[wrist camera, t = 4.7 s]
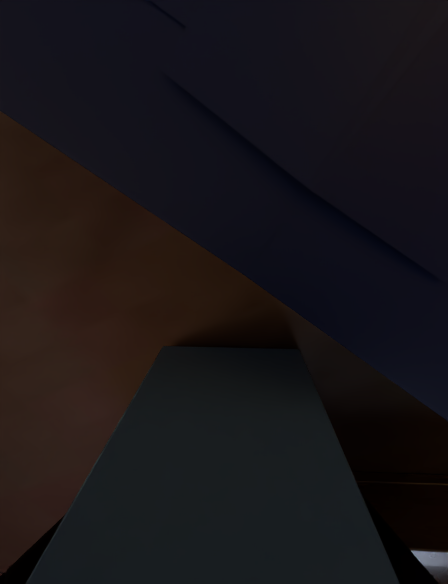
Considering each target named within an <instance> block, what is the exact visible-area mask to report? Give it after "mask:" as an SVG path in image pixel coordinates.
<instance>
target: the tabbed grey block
mask: <svg viewBox="0 0 448 584" xmlns="http://www.w3.org/2000/svg"><path fill="white" fill-rule="evenodd" d="M26 584H400V583H399V581H398V578H397V576H396V574H395V571H394V569H393V567H392V564H391V562H390V560H389V557H388V555H387V553H386V550H385V548H384V546H383V543H382V541H381V539H380V536H379V534H378V532H377V529H376V527H375V525H374V522H373V520H372V518H371V515H370V513H369V511H368V508H367V506H366V504H365V501H364V499H363V497H362V494H361V492H360V490H359V487H358V485H357V483H356V480H355V478H354V476H353V473H352V471H351V469H350V466H349V464H348V462H347V459H346V457H345V455H344V452H343V450H342V448H341V445H340V443H339V441H338V438H337V436H336V433H335V431H334V429H333V426H332V424H331V422H330V419H329V417H328V415H327V412H326V410H325V408H324V405H323V403H322V401H321V398H320V396H319V394H318V391H317V389H316V387H315V384H314V382H313V380H312V377H311V375H310V373H309V370H308V368H307V366H306V363H305V361H304V359H303V356H302V354H301V352H300V350H299V349H273V348H228V347H183V346H163V347H162V349H161V350H160V352H159V354H158V356H157V357H156V359H155V361H154V362H153V364H152V366H151V368H150V369H149V371H148V373H147V375H146V376H145V378H144V380H143V381H142V383H141V385H140V387H139V388H138V390H137V392H136V394H135V395H134V397H133V399H132V400H131V402H130V404H129V406H128V407H127V409H126V411H125V413H124V414H123V416H122V418H121V419H120V421H119V423H118V425H117V426H116V428H115V430H114V432H113V433H112V435H111V437H110V438H109V440H108V442H107V444H106V445H105V447H104V449H103V451H102V452H101V454H100V456H99V457H98V459H97V461H96V463H95V464H94V466H93V468H92V470H91V471H90V473H89V475H88V476H87V478H86V480H85V482H84V483H83V485H82V487H81V489H80V490H79V492H78V494H77V495H76V497H75V499H74V501H73V502H72V504H71V506H70V508H69V509H68V511H67V513H66V514H65V516H64V518H63V520H62V521H61V523H60V525H59V527H58V528H57V530H56V532H55V533H54V535H53V537H52V539H51V540H50V542H49V544H48V546H47V547H46V549H45V551H44V552H43V554H42V556H41V558H40V559H39V561H38V563H37V565H36V566H35V568H34V570H33V571H32V573H31V575H30V577H29V578H28V580H27V582H26Z"/></svg>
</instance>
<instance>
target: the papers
mask: <svg viewBox="0 0 448 584" xmlns="http://www.w3.org/2000/svg"><path fill="white" fill-rule="evenodd" d="M0 111H1V112H3V113H4V114H6V115H7V116H9V117H10V118H12V119H13V120H15V121H16V122H18V123H19V124H21V125H22V126H24V127H25V128H27V129H28V130H30V131H31V132H33V133H34V134H35V135H37V136H38V137H40V138H41V139H43V140H44V141H46V142H47V143H49V144H50V145H52V146H53V147H55V148H56V149H58V150H59V151H61V152H62V153H64V154H65V155H67V156H68V157H70V158H71V159H73V160H74V161H76V162H77V163H79V164H80V165H82V166H83V167H84V168H86V169H87V170H89V171H90V172H92V173H93V174H95V175H96V176H98V177H99V178H101V179H102V180H104V181H105V182H107V183H108V184H110V185H111V186H113V187H114V188H116V189H117V190H119V191H120V192H122V193H123V194H125V195H126V196H128V197H129V198H131V199H132V200H133V201H135V202H136V203H138V204H139V205H141V206H142V207H144V208H145V209H147V210H148V211H150V212H151V213H153V214H154V215H156V216H157V217H159V218H160V219H162V220H163V221H165V222H166V223H168V224H169V225H171V226H172V227H174V228H175V229H177V230H178V231H180V232H181V233H182V234H184V235H185V236H187V237H188V238H190V239H191V240H193V241H194V242H196V243H197V244H199V245H200V246H202V247H203V248H205V249H206V250H208V251H209V252H211V253H212V254H214V255H215V256H217V257H218V258H220V259H221V260H223V261H224V262H226V263H227V264H229V265H230V266H231V267H233V268H234V269H236V270H237V271H239V272H240V273H242V274H243V275H245V276H246V277H248V278H249V279H250V280H252V281H253V282H255V283H256V284H257V285H259V286H260V287H262V288H263V289H264V290H266V291H267V292H269V293H270V294H271V295H273V296H274V297H275V298H277V299H278V300H280V301H281V302H282V303H284V304H285V305H287V306H288V307H289V308H291V309H292V310H294V311H295V312H296V313H298V314H299V315H301V316H302V317H303V318H305V319H306V320H308V321H309V322H310V323H312V324H313V325H314V326H316V327H317V328H319V329H320V330H321V331H323V332H324V333H326V334H327V335H328V336H330V337H331V338H333V339H334V340H335V341H337V342H338V343H340V344H341V345H342V346H344V347H345V348H346V349H348V350H349V351H351V352H352V353H353V354H355V355H356V356H358V357H359V358H360V359H362V360H363V361H365V362H366V363H367V364H369V365H370V366H372V367H373V368H374V369H376V370H377V371H379V372H380V373H381V374H383V375H384V376H385V377H387V378H388V379H390V380H391V381H392V382H394V383H395V384H397V385H398V386H399V387H401V388H402V389H404V390H405V391H406V392H408V393H409V394H411V395H412V396H413V397H415V398H416V399H417V400H419V401H420V402H422V403H423V404H424V405H426V406H427V407H429V408H430V409H431V410H433V411H434V412H436V413H437V414H438V415H440V416H441V417H443V418H444V419H445V420H447V421H448V0H0Z"/></svg>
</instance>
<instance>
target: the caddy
mask: <svg viewBox="0 0 448 584" xmlns="http://www.w3.org/2000/svg"><path fill="white" fill-rule="evenodd" d="M352 473H353V476H354V478H355V480H356V483H357V485H358V487H359V490H360V492H361V493H362V494H363V496H364V497H365V498H366V499H367V500H368V501H369V503H370V504H371V505H372V506H373V507H374V508H375V510H376V511H377V512H378V513H379V514H380V515H381V517H382V518H383V519H384V520H385V521H386V522H387V524H388V525H389V526H390V527H391V528H392V529H393V531H394V532H395V533H396V534H397V535H398V536H399V538H400V539H401V540H402V541H403V542H404V543H405V545H406V546H407V547H408V548H409V549H410V550H411V552H412V553H413V554H414V555H415V556H416V557H417V559H418V560H419V561H420V562H421V563H422V564H423V566H424V567H425V568H426V569H427V570H428V571H429V573H430V574H431V575H432V576H433V577H434V578H435V580H436V581H437V582H438V583H439V584H448V475H438V474H405V473H372V472H352Z"/></svg>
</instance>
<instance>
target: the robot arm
mask: <svg viewBox="0 0 448 584" xmlns="http://www.w3.org/2000/svg"><path fill="white" fill-rule="evenodd" d="M361 494H362V493H361ZM362 497H363V499H364V501H365V504H366V506H367V508H368V511H369V513H370V515H371V518H372V520H373V522H374V525H375V527H376V529H377V532H378V534H379V536H380V539H381V541H382V543H383V546H384V548H385V550H386V553H387V555H388V557H389V560H390V562H391V564H392V567H393V569H394V571H395V574H396V576H397V578H398V581H399V583H400V584H439V583H438V582H437V581H436V580H435V578H434V577H433V576H432V575H431V574H430V573H429V571H428V570H427V569H426V568H425V567H424V566H423V564H422V563H421V562H420V561H419V560H418V559H417V557H416V556H415V555H414V554H413V553H412V552H411V550H410V549H409V548H408V547H407V546H406V545H405V543H404V542H403V541H402V540H401V539H400V538H399V536H398V535H397V534H396V533H395V532H394V531H393V529H392V528H391V527H390V526H389V525H388V524H387V522H386V521H385V520H384V519H383V518H382V517H381V515H380V514H379V513H378V512H377V511H376V510H375V508H374V507H373V506H372V505H371V504H370V503H369V501H368V500H367V499H366V498H365V497H364V496H363V494H362ZM64 516H65V515H64ZM64 516H63V517H62V518H61V519H60V520H59V521H58V522H57V523H56V524H55V525H54V526H53V527H52V528H51V529H50V530H48V531H47V532H46V533H45V534H44V535H43V536H42V537H41V538H40V539H39V540H38V541H37V542H36V543H35V544H34V545H33V546H32V547H31V548H29V549H28V550H27V551H26V552H25V553H24V554H23V555H22V556H21V557H20V558H19V559H18V560H17V561H16V562H15V563H14V564H13V565H12V566H11V567H9V568H8V569H7V571H6V573H3V574H2V575H1V576H0V584H26V582H27V580H28V578H29V577H30V575H31V573H32V571H33V570H34V568H35V566H36V565H37V563H38V561H39V559H40V558H41V556H42V554H43V552H44V551H45V549H46V547H47V546H48V544H49V542H50V540H51V539H52V537H53V535H54V533H55V532H56V530H57V528H58V527H59V525H60V523H61V521H62V520H63V518H64Z"/></svg>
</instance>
